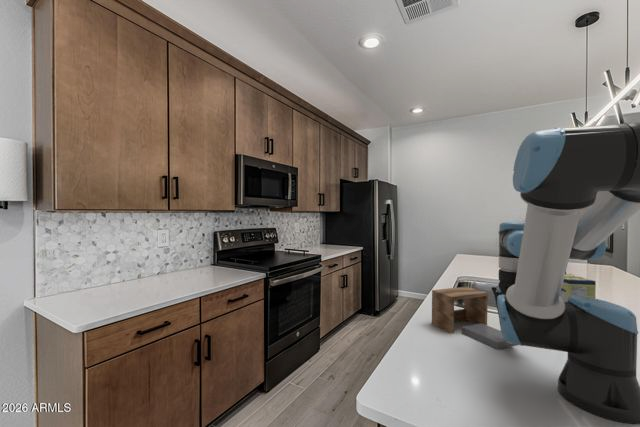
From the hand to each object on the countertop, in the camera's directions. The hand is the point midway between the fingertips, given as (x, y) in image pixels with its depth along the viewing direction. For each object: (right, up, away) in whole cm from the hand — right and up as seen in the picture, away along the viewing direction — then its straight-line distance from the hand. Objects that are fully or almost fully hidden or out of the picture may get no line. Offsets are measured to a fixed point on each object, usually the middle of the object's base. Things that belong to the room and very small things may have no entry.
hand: (511, 342), depth 96 cm
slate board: (-3, -2, +7) cm, 8 cm away
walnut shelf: (-8, -2, +19) cm, 21 cm away
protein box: (+52, -3, +39) cm, 65 cm away
